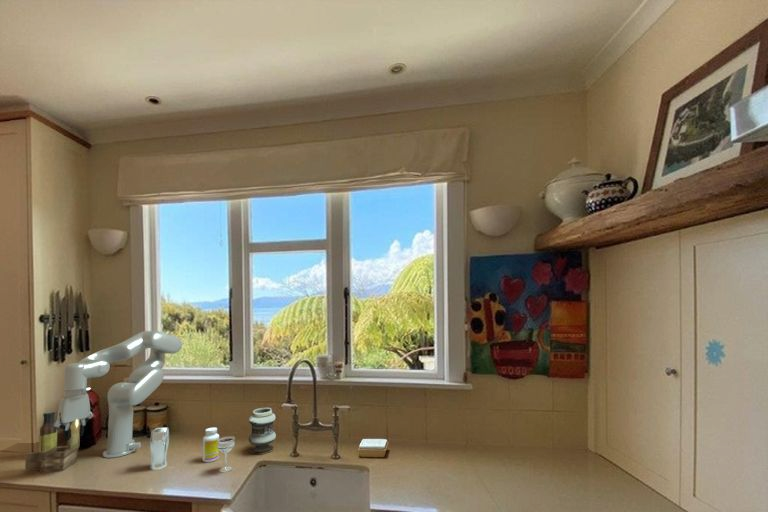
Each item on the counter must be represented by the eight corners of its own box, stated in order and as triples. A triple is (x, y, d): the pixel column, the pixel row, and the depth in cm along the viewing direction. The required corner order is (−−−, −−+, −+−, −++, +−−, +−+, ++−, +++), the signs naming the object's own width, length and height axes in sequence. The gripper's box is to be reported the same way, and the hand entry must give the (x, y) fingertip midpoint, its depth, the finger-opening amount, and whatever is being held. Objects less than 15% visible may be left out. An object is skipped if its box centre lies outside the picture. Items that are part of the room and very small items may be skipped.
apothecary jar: (243, 455, 172) (244, 413, 174) (255, 444, 184) (256, 406, 186) (269, 455, 170) (269, 413, 172) (279, 445, 182) (280, 406, 184)
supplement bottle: (221, 459, 168) (222, 428, 169) (206, 464, 163) (206, 432, 165) (215, 455, 172) (215, 425, 174) (199, 459, 168) (200, 429, 169)
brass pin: (81, 445, 162) (82, 416, 163) (75, 449, 158) (76, 419, 159) (71, 446, 162) (72, 417, 163) (64, 450, 158) (66, 420, 159)
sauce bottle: (60, 454, 178) (63, 410, 180) (47, 460, 171) (50, 414, 174) (47, 454, 178) (50, 410, 180) (33, 459, 172) (37, 414, 174)
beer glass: (148, 471, 157) (150, 433, 159) (149, 465, 163) (151, 428, 165) (167, 468, 160) (169, 430, 162) (168, 462, 166) (169, 426, 168)
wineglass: (230, 473, 154) (230, 441, 155) (213, 473, 154) (214, 442, 156) (237, 465, 161) (237, 435, 162) (221, 465, 161) (221, 436, 162)
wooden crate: (86, 455, 176) (87, 438, 177) (63, 470, 160) (64, 452, 161) (46, 458, 173) (47, 441, 174) (18, 474, 157) (19, 456, 158)
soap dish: (388, 450, 174) (388, 438, 175) (386, 459, 164) (385, 446, 165) (361, 449, 176) (361, 437, 176) (357, 458, 166) (357, 446, 166)
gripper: (93, 387, 171) (92, 429, 169) (46, 397, 156) (44, 443, 155) (102, 388, 167) (100, 432, 166) (54, 399, 153) (52, 446, 151)
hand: (73, 437), depth 160 cm, fingers closed on brass pin, 4 cm apart
